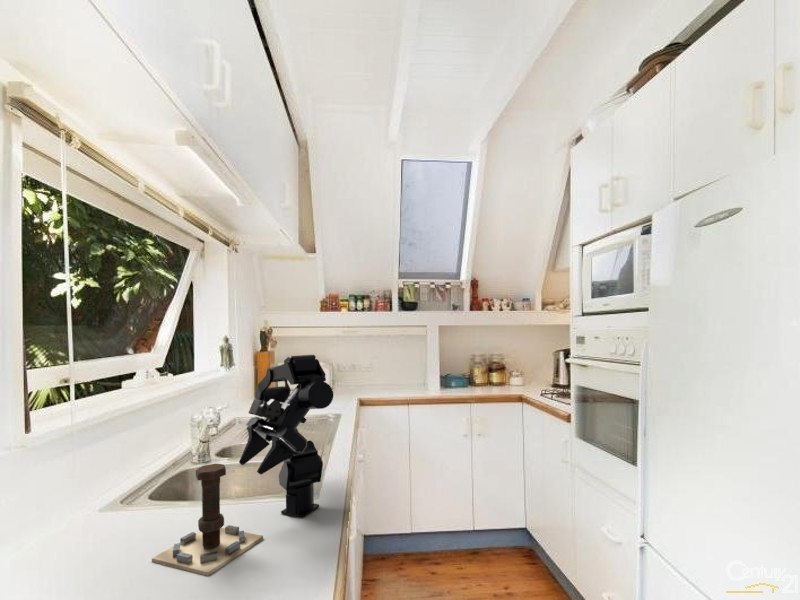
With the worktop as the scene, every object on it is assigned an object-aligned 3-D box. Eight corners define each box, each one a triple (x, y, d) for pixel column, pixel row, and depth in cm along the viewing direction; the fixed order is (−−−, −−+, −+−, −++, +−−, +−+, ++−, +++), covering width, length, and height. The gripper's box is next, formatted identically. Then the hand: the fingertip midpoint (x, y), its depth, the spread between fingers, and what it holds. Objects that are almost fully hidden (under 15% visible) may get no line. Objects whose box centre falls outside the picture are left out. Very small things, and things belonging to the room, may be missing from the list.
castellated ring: (211, 527, 92) (211, 521, 92) (258, 536, 87) (257, 530, 87) (157, 557, 80) (157, 550, 81) (208, 569, 76) (208, 562, 76)
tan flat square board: (211, 528, 93) (211, 525, 93) (263, 538, 87) (263, 535, 88) (151, 561, 80) (151, 558, 80) (208, 575, 75) (208, 572, 75)
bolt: (215, 537, 88) (214, 461, 89) (232, 541, 85) (231, 464, 86) (189, 550, 82) (189, 470, 83) (207, 556, 80) (206, 473, 81)
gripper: (254, 382, 102) (205, 438, 93) (292, 387, 88) (239, 455, 80) (285, 410, 106) (242, 467, 98) (326, 420, 93) (279, 487, 84)
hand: (249, 468), depth 90 cm, fingers open, 9 cm apart
